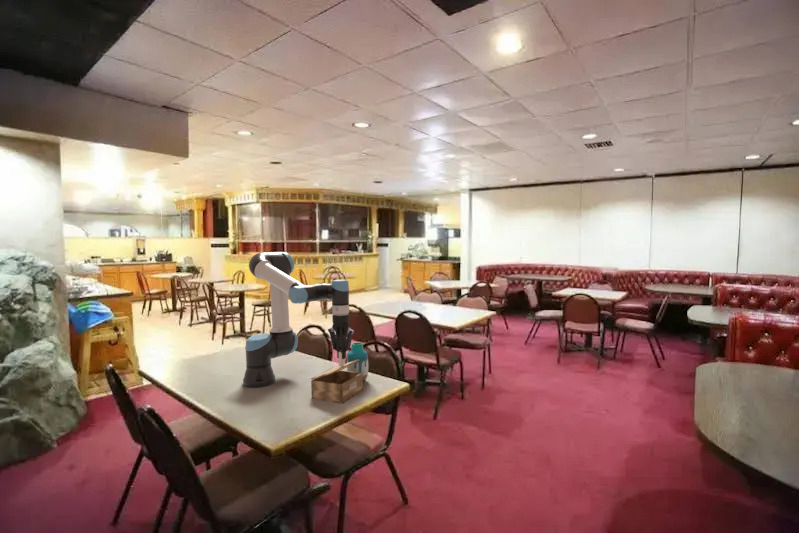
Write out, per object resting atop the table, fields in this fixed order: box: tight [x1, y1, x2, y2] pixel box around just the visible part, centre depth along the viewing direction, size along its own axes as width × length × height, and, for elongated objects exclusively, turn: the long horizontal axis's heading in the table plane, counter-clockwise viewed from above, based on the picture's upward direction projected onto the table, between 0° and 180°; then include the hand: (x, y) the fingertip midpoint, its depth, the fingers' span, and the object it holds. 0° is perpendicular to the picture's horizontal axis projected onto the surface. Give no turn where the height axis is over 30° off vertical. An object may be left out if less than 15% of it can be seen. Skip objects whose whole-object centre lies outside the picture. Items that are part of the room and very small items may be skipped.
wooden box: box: [310, 369, 364, 405], centre depth 184 cm, size 16×18×8 cm
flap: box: [310, 359, 360, 381], centre depth 184 cm, size 16×17×1 cm
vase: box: [346, 341, 369, 382], centre depth 200 cm, size 11×11×19 cm
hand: (341, 365), depth 183 cm, fingers closed
